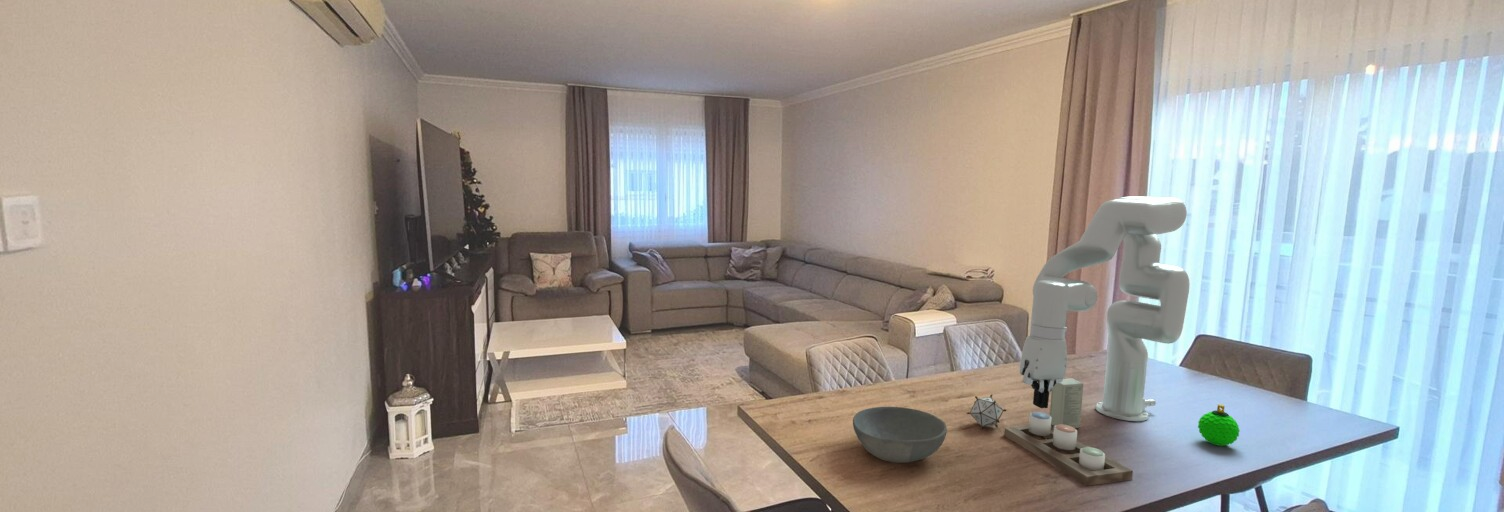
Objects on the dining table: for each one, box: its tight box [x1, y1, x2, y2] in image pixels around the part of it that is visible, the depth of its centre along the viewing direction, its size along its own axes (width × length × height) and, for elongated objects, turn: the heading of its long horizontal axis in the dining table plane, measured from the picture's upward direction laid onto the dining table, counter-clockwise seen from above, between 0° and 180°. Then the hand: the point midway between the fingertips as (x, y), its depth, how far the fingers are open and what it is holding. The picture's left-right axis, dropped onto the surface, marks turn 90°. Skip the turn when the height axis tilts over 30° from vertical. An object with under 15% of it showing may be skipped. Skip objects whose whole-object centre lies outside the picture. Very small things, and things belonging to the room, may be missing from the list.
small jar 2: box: [1053, 424, 1078, 451], centre depth 141 cm, size 5×5×4 cm
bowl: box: [852, 406, 948, 464], centre depth 139 cm, size 21×21×8 cm
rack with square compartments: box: [1003, 424, 1134, 487], centre depth 141 cm, size 12×26×2 cm, turn 15°
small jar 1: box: [1028, 411, 1052, 437], centre depth 148 cm, size 5×5×4 cm
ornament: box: [1197, 404, 1241, 447], centre depth 149 cm, size 8×8×10 cm
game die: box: [966, 393, 1008, 430], centre depth 157 cm, size 9×8×10 cm
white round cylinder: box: [1079, 446, 1106, 471], centre depth 133 cm, size 5×5×4 cm
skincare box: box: [1049, 377, 1084, 429], centre depth 159 cm, size 6×4×12 cm
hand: (1040, 406), depth 147 cm, fingers closed
